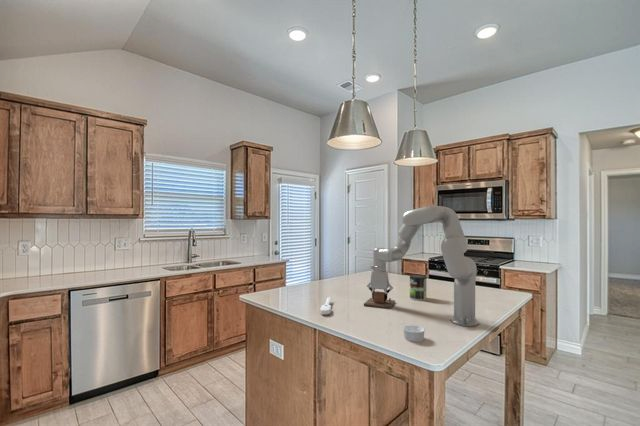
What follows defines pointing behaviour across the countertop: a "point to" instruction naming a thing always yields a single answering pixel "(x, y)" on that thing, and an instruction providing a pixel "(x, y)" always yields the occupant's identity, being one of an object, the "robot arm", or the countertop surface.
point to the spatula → (326, 307)
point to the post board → (386, 304)
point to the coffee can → (418, 287)
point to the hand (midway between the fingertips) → (379, 299)
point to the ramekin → (413, 333)
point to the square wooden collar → (378, 297)
